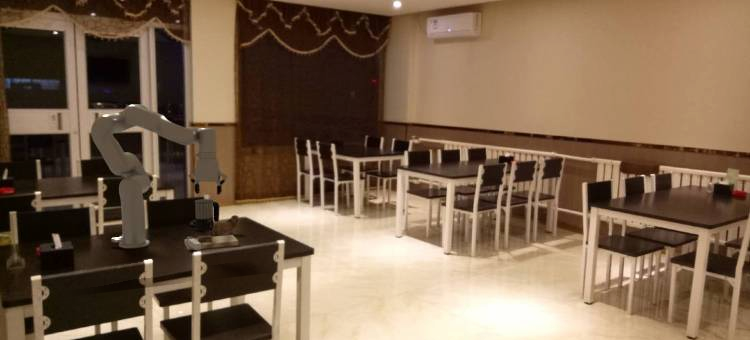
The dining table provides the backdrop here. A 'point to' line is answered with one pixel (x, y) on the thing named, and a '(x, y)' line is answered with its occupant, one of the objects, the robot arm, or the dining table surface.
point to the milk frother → (205, 214)
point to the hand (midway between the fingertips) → (208, 193)
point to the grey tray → (214, 241)
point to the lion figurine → (226, 225)
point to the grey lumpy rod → (193, 243)
